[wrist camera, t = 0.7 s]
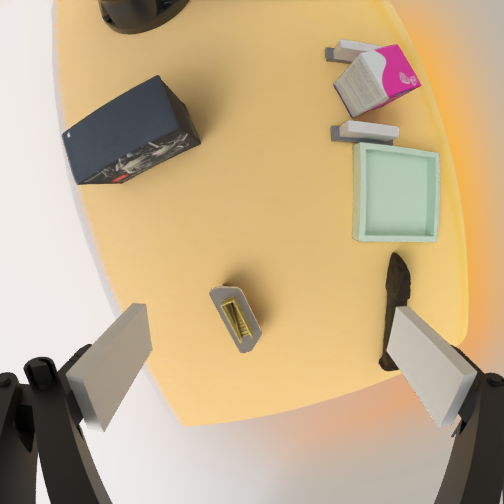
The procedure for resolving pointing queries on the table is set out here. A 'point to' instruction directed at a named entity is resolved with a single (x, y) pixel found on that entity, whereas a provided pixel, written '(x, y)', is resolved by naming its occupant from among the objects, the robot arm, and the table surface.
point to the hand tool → (394, 302)
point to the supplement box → (375, 80)
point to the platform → (237, 316)
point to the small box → (129, 135)
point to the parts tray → (395, 194)
